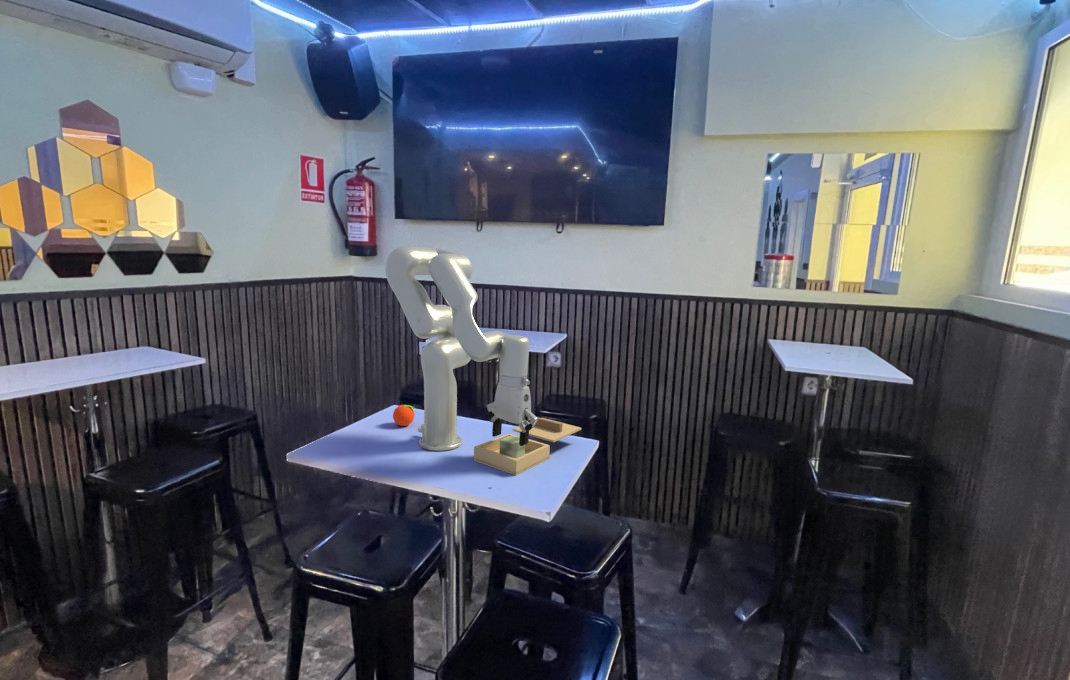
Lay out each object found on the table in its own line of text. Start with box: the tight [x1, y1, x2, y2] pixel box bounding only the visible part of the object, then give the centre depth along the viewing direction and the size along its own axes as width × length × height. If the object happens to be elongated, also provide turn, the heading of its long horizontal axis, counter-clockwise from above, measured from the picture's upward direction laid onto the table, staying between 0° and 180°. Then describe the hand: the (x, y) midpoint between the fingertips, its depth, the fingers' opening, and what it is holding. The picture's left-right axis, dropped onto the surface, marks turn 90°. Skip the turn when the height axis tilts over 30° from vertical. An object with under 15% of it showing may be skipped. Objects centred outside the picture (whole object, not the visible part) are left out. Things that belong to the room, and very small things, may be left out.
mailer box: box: [473, 432, 551, 476], centre depth 146 cm, size 15×15×4 cm
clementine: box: [392, 404, 417, 427], centre depth 171 cm, size 8×7×7 cm
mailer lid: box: [512, 416, 582, 443], centre depth 158 cm, size 15×15×3 cm
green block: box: [500, 436, 525, 459], centre depth 145 cm, size 5×5×5 cm
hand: (509, 439), depth 145 cm, fingers open, 9 cm apart
